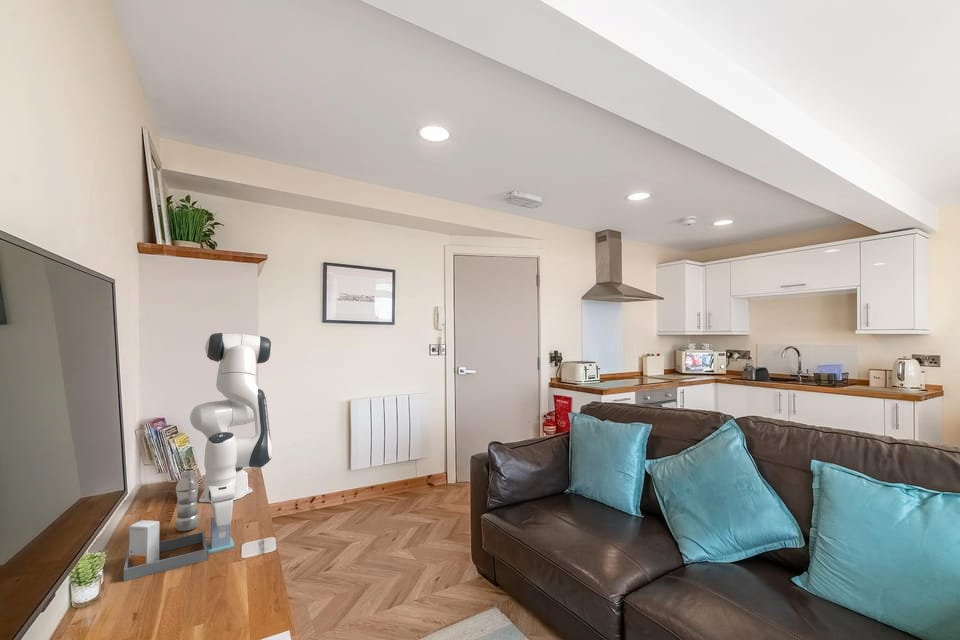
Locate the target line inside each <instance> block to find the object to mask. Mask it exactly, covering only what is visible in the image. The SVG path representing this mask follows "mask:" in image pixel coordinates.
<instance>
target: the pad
mask: <svg viewBox="0 0 960 640" xmlns="http://www.w3.org/2000/svg"><path fill="white" fill-rule="evenodd" d="M206 545H207V555H211V554H215V553H219V552H223V551H227V550H230V549H234V548H235V543H234V540H233V537H232V536H230V545H226V546H222V547H218V548H214V549H212V548H211V541H210V542H209V541H208V542H206Z"/></svg>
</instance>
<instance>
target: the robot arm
mask: <svg viewBox="0 0 960 640" xmlns="http://www.w3.org/2000/svg"><path fill="white" fill-rule="evenodd" d="M204 350H205V354H206V357H207V358H208V359H209V360H211V361H212V362H213V361H214V362H217V363H218V370H217V376H216V382H215V386H216V389H217V391H218V392H220V393H221V394H222V395H223V396H224V397H225V398H227V399H225V400H216V401H207V402H204V403H201V404H197V405H196V406H195V407H194V408H193V409H192V410H191V412H190V415H189V420H190V424H191V426H192V427H193V428H194V429H195V430H196V431H199V432H200V433H202V434H203V435H204V436H205V438H206V439H207V440H206V443H205V444H206V445H205V449H204V460H203V461H204V465H203V466H204V469H205V473H204V474H205V475H204V478H203V485H202V486H203V490H202V493H201V495H200V497H199V499H198V503H210V505H211V509H212V513H213V514H212V515H213V518H215V522H216V527H217V528H218V536H219V538H223V537H225V536H226V527H227V526H229V525H230V526H231V522H232V517H233V508H234V507H233V506H234V501H236V500H239V499H242V498H243V497H245V496H246V495H248V494H251V493H253V488H251V487H250V486H249V483H248V481H249V479H248V478H249V477H248V472H247V471H246V470H245V469H244V468H262V467H264V466H265V465H267V464H268V463H269V462H270V461H271V460H272V458H273V453H274V452H273V451H274V448H273V443H272V439H271V438H272V437H271V432H270V422H269V413H268V406H267V405H268V404H267V400H266V399H267V397H266V395H265V392H264V390H262V389H260V388H259V386H258V383H257V367H258V366H257V365H258V364H259V365H260V364H264V363H266V362H267V361H269V359H270V357H271V356H272V354H273V345H272V342H271V340H270V339H269V337H266V336H262V335H259V336H258V335H254V334H253V335H252V334H246V333H241V334H240V333H223V332H217V333H216V332H215V333H212V334H210V336H209V338H208V339H207V340H206V342H205V345H204ZM253 422H254V432H255V433H254V436H251V437H250V436H247V437H238V436H236V435H235V434H234V433H233V432H229V431H228V428H230V427H236V426H243V425H244V426H245V425H247V424H251V423H253Z"/></svg>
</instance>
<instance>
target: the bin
mask: <svg viewBox="0 0 960 640" xmlns="http://www.w3.org/2000/svg"><path fill="white" fill-rule="evenodd" d="M206 543H207V539H206V534H205V531H200V532H196V533H192V534H188V535H187V534H186V535H183V536H179V537H174V538H171V539H165V540H161V541H160V540H159V553H162V552H168V551H171V550H175V549H179V548H183V547H188V546H191V545H197V544H201V545H202V549H201V550H195V551H192V552H189V553H184V554H180V555H176V556H173V557H167V558H163V559H159V561H155V562H151V563H147V564H143V565H139V566H135V567H131V568H129V548H127V552H126V556H125V562H124V568H123V582H126V581H130V580H134V579H138V578H142V577H146V576H151V575H154V574H158V573H162V572H165V571H171V570H173V569H177V568H180V567H184V566H189V565H192V564H196V563H200V562H203V561H208V551H207V545H206Z"/></svg>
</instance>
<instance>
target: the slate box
mask: <svg viewBox="0 0 960 640" xmlns="http://www.w3.org/2000/svg"><path fill="white" fill-rule="evenodd" d="M230 537H231V524H230V525H229V526H227V527H226V536H225V537H223V538H219V536H218V528H217V527H216V522H215V518H214V517H211V518H210V542H211V548H212V549H214V548H218V547H222V546H226V545H230Z"/></svg>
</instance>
